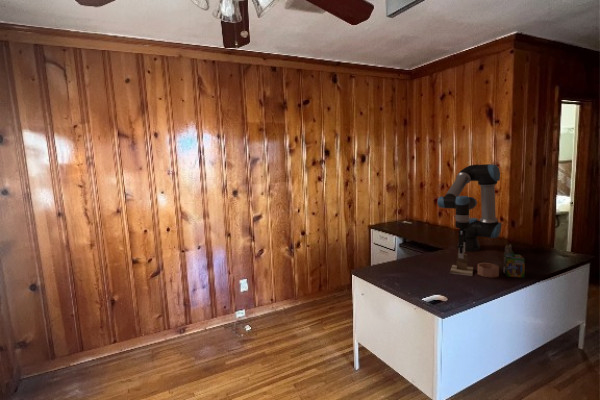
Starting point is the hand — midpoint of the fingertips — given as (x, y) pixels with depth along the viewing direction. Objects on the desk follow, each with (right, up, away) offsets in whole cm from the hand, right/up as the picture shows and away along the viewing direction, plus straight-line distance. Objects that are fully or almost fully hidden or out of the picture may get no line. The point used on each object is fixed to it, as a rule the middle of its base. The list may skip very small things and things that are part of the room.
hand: (461, 255), depth 196 cm
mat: (+1, -11, +2) cm, 11 cm away
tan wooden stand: (+1, -10, +2) cm, 10 cm away
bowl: (+13, -11, -6) cm, 18 cm away
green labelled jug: (+27, -11, -8) cm, 30 cm away
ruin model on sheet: (+45, -6, +25) cm, 52 cm away
